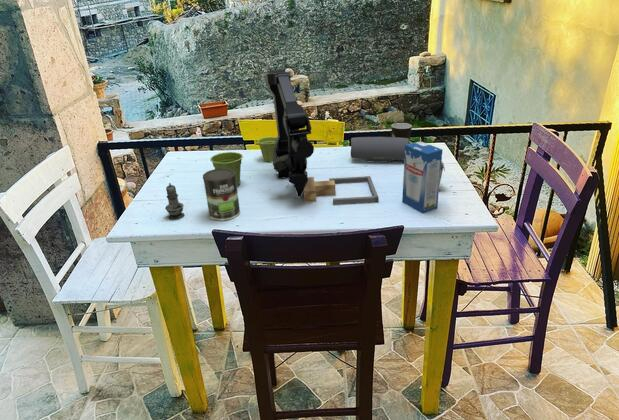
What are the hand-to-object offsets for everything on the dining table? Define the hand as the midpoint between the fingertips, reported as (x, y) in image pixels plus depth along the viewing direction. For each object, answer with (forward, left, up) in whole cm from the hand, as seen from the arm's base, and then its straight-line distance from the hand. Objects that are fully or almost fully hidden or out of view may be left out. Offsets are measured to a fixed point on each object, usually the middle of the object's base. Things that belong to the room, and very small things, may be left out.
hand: (299, 190), depth 159 cm
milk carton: (+39, -13, -2) cm, 41 cm away
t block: (+7, 0, -2) cm, 7 cm away
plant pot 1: (-26, +12, -2) cm, 29 cm away
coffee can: (-25, -11, -2) cm, 27 cm away
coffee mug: (+45, +44, -2) cm, 63 cm away
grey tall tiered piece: (-41, -11, -2) cm, 42 cm away
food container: (+45, +1, -2) cm, 45 cm away
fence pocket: (+18, 0, -2) cm, 18 cm away
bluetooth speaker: (+33, +29, -2) cm, 44 cm away
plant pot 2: (-12, +37, -2) cm, 39 cm away
